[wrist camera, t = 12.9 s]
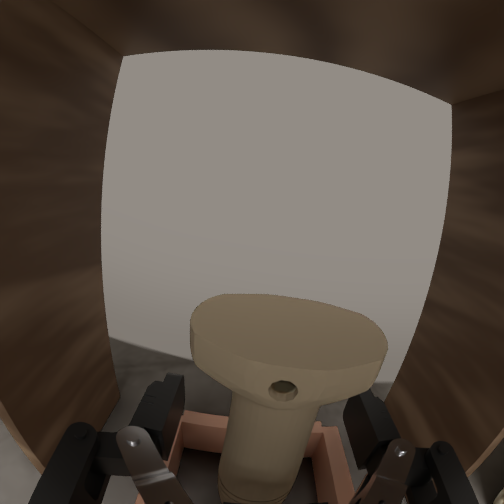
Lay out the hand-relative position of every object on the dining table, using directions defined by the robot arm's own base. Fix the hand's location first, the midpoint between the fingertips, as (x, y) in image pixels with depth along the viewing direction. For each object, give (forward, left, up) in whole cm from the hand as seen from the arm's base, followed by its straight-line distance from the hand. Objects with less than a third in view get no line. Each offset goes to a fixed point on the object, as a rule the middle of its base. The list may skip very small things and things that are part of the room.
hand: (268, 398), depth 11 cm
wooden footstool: (0, -2, -10) cm, 10 cm away
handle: (0, -2, -10) cm, 10 cm away
